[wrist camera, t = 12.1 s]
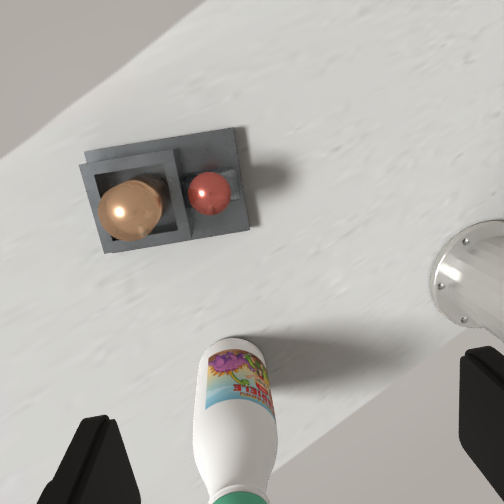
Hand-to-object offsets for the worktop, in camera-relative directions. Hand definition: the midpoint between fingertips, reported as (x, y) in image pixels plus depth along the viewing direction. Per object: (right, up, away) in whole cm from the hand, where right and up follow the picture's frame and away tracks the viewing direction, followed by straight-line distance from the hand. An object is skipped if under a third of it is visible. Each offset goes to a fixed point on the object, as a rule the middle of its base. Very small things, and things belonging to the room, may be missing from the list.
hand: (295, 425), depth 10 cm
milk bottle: (-3, -9, +34) cm, 36 cm away
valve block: (-9, +11, +28) cm, 31 cm away
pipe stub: (-11, +10, +27) cm, 31 cm away
